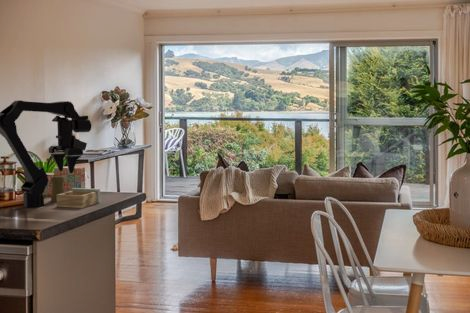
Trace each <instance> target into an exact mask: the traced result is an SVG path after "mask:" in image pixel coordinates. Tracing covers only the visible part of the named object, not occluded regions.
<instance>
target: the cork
mask: <svg viewBox="0 0 470 313" xmlns="http://www.w3.org/2000/svg"><path fill="white" fill-rule="evenodd" d="M51 183H52V184H53V185H52V195H50V201H51V202H54V203H57V196H56V195H58V194H62V193H64V186H63V183H64V177H63V176H53V177H52V178H51Z"/></svg>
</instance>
